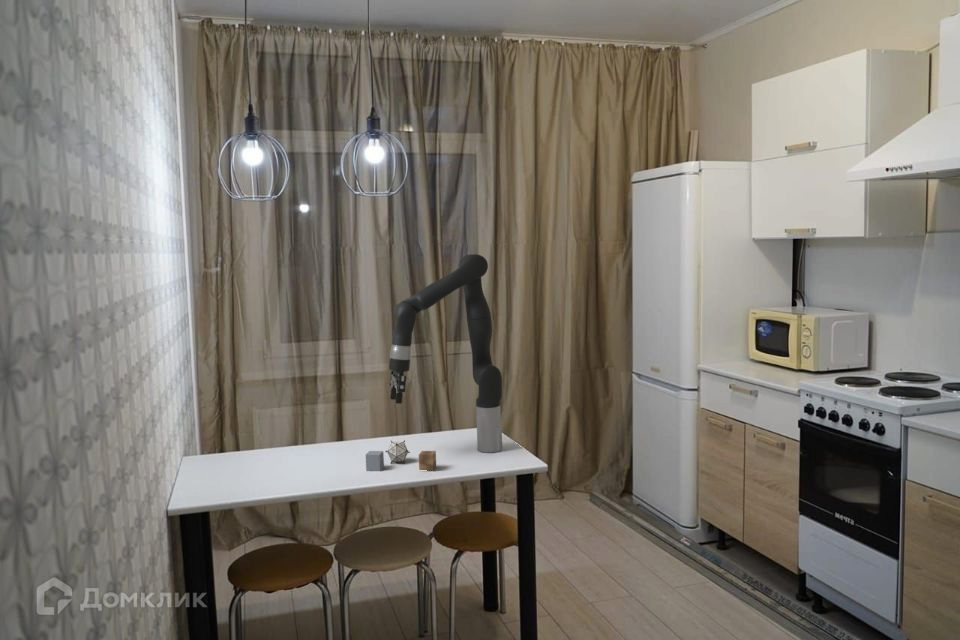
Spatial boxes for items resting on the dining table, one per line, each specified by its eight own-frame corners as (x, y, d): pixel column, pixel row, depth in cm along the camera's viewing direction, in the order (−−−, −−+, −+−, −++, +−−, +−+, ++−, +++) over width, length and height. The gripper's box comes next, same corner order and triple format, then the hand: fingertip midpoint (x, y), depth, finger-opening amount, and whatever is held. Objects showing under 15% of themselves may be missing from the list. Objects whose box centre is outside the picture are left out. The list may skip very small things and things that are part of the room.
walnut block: (436, 467, 269) (435, 451, 268) (433, 471, 264) (432, 454, 263) (422, 467, 270) (422, 450, 269) (419, 471, 265) (418, 454, 264)
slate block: (384, 467, 271) (383, 451, 270) (380, 471, 266) (379, 454, 265) (370, 467, 272) (369, 450, 271) (366, 471, 267) (365, 454, 266)
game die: (402, 471, 279) (416, 447, 281) (399, 469, 270) (414, 444, 273) (382, 458, 280) (396, 435, 282) (378, 456, 272) (393, 432, 274)
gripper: (415, 360, 270) (410, 405, 271) (405, 355, 284) (401, 398, 284) (394, 359, 268) (390, 404, 268) (385, 354, 281) (381, 397, 282)
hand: (395, 401), depth 276 cm, fingers open, 8 cm apart
